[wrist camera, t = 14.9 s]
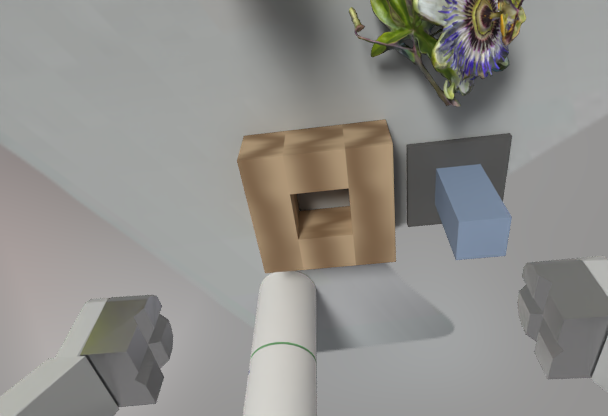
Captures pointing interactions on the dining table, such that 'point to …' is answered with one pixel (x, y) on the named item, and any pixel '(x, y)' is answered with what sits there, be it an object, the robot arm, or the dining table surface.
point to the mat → (451, 154)
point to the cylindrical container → (283, 348)
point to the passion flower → (449, 37)
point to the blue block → (471, 212)
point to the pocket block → (321, 177)
